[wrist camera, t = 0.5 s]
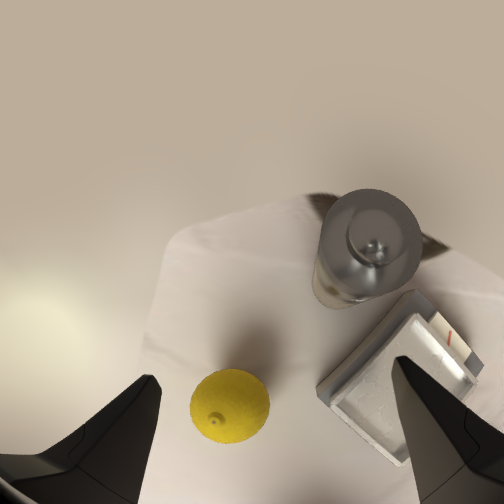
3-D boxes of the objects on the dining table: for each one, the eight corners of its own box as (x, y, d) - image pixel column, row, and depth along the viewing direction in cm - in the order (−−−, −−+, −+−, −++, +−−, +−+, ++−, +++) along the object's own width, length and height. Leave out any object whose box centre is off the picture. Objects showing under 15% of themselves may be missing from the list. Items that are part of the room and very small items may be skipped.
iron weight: (373, 281, 22) (452, 228, 9) (338, 320, 22) (387, 316, 9) (336, 247, 24) (369, 155, 10) (301, 283, 24) (297, 230, 10)
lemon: (237, 349, 23) (206, 361, 15) (288, 389, 21) (280, 421, 14) (199, 393, 23) (157, 418, 15) (247, 432, 21) (222, 474, 13)
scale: (467, 362, 19) (495, 367, 14) (387, 452, 18) (401, 475, 14) (404, 292, 22) (426, 285, 17) (315, 387, 21) (318, 403, 17)
